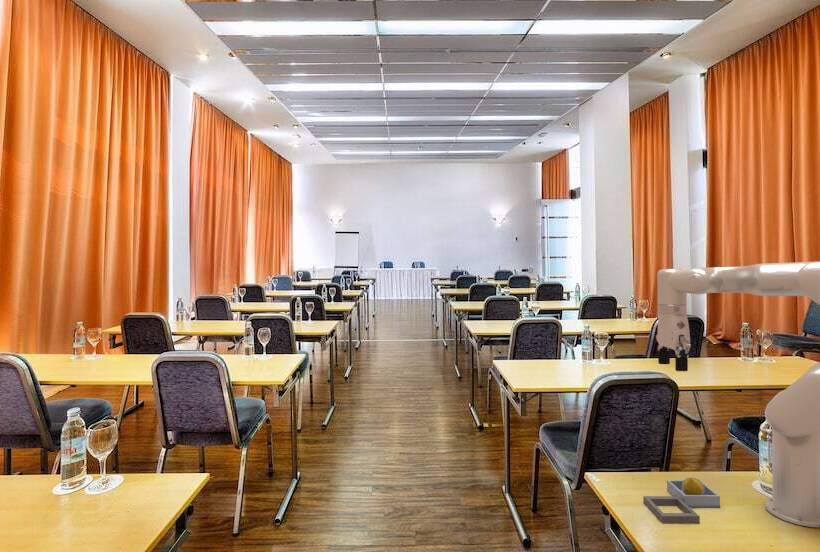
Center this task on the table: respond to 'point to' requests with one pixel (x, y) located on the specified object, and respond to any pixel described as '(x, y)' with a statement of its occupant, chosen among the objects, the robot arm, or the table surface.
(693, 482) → the grooved yellow cone
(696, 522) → the holder panel
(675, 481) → the parts tray
